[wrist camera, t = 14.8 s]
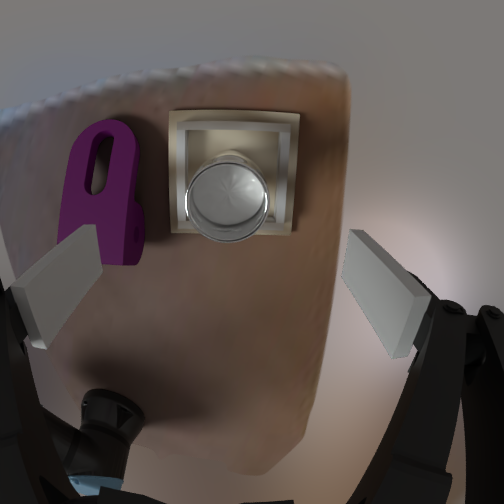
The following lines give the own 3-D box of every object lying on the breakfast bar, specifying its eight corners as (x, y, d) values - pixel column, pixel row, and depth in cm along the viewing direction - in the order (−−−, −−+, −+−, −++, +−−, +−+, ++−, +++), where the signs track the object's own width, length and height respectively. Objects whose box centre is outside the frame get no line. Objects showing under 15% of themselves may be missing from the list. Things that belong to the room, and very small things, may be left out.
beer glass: (265, 191, 37) (283, 231, 24) (213, 207, 38) (200, 256, 24) (249, 139, 35) (258, 146, 21) (195, 156, 35) (169, 175, 21)
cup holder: (289, 232, 41) (294, 242, 38) (172, 230, 40) (166, 239, 37) (298, 114, 34) (304, 113, 31) (170, 111, 33) (164, 109, 30)
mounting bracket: (100, 144, 40) (84, 260, 39) (77, 122, 31) (55, 260, 31) (156, 142, 40) (142, 265, 40) (141, 117, 32) (122, 265, 31)
